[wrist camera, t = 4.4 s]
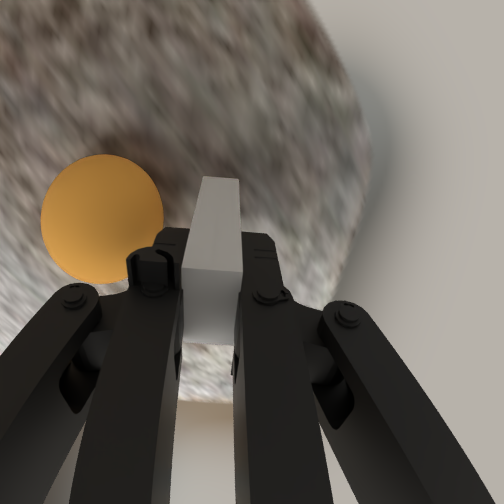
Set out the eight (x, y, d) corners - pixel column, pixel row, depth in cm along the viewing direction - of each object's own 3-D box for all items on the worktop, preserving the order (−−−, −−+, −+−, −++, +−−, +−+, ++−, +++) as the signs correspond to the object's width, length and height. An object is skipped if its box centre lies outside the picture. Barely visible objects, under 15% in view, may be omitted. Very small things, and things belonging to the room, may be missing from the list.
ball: (70, 140, 13) (6, 180, 9) (176, 143, 14) (145, 185, 9) (78, 237, 16) (34, 300, 11) (172, 246, 17) (151, 319, 12)
